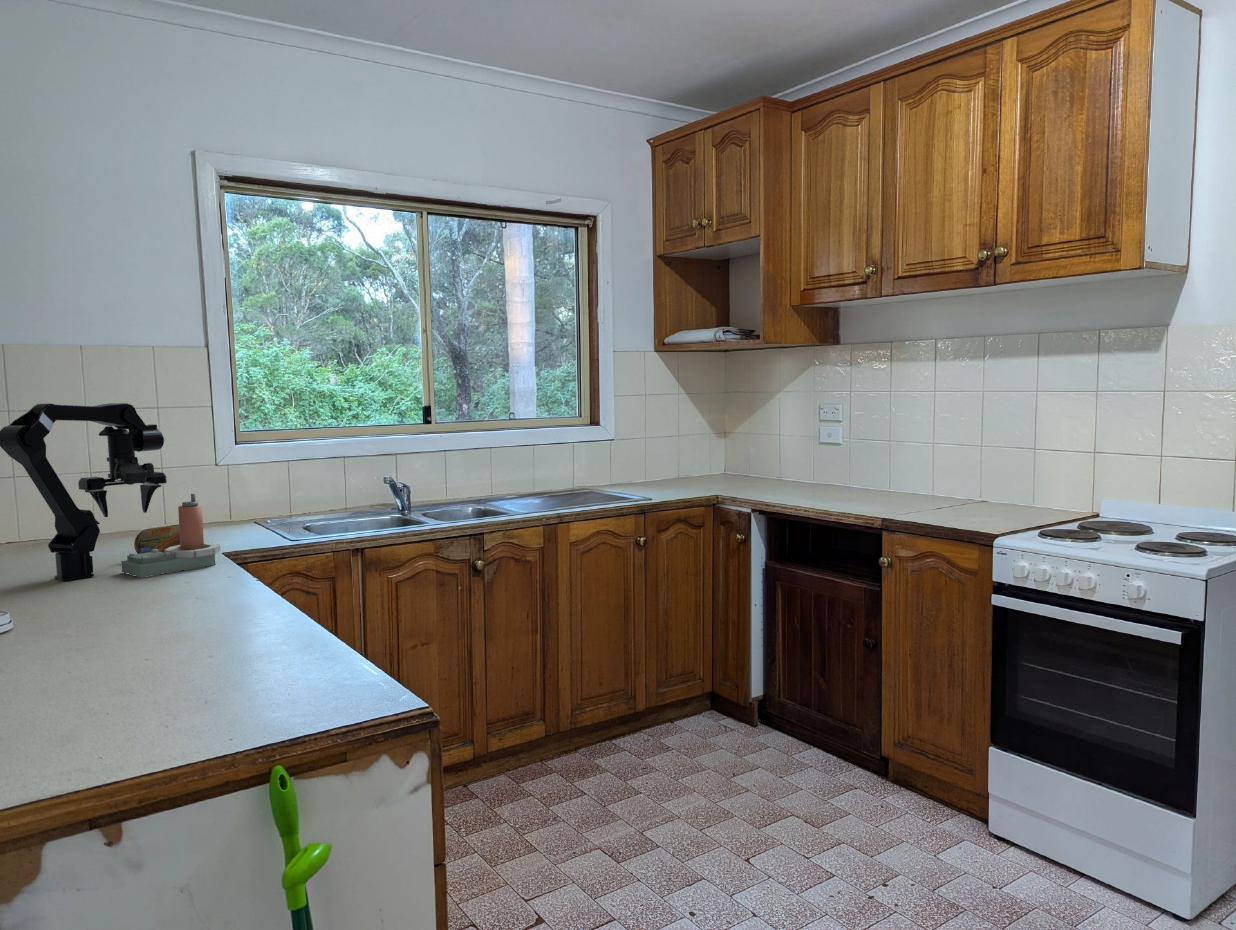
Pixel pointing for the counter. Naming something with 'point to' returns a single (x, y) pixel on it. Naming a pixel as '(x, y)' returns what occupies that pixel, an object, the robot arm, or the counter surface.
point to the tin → (157, 539)
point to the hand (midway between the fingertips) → (125, 514)
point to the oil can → (191, 525)
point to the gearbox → (169, 560)
